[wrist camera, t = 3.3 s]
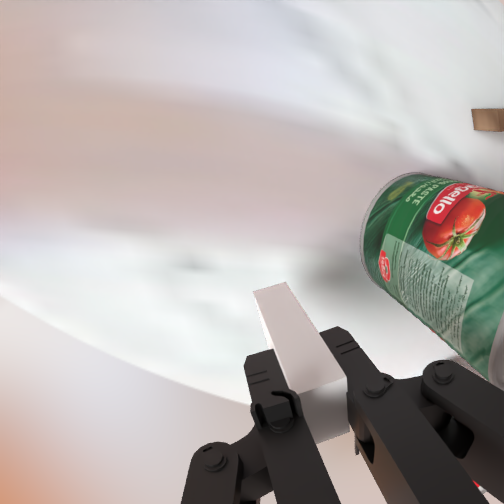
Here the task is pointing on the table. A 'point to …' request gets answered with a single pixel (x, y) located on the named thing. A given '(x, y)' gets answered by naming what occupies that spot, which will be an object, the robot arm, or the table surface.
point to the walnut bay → (488, 119)
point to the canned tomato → (443, 261)
